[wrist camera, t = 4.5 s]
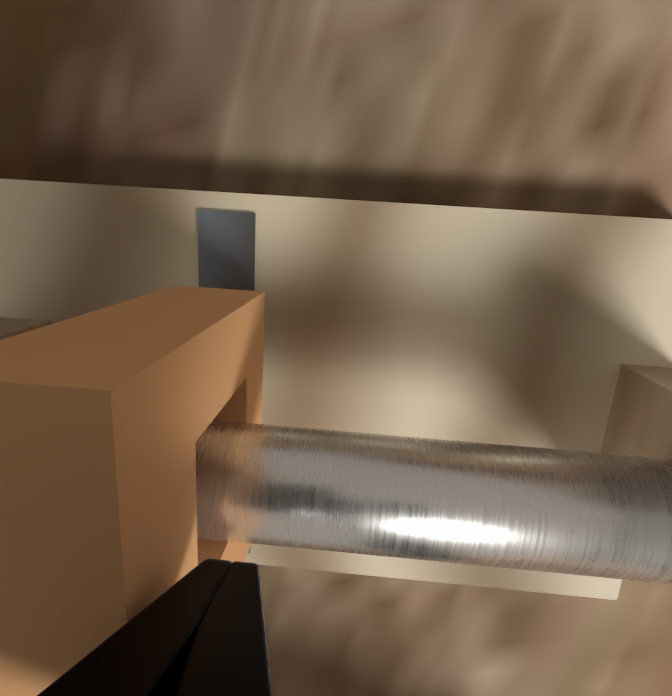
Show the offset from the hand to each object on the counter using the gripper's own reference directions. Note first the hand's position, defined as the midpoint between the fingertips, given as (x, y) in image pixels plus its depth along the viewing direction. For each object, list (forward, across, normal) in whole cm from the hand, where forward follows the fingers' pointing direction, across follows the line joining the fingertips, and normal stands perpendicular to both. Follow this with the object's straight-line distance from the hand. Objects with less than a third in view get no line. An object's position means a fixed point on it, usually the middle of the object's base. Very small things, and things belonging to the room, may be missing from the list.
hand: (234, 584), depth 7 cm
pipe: (+4, -1, 0) cm, 4 cm away
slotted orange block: (+6, +2, 0) cm, 7 cm away
